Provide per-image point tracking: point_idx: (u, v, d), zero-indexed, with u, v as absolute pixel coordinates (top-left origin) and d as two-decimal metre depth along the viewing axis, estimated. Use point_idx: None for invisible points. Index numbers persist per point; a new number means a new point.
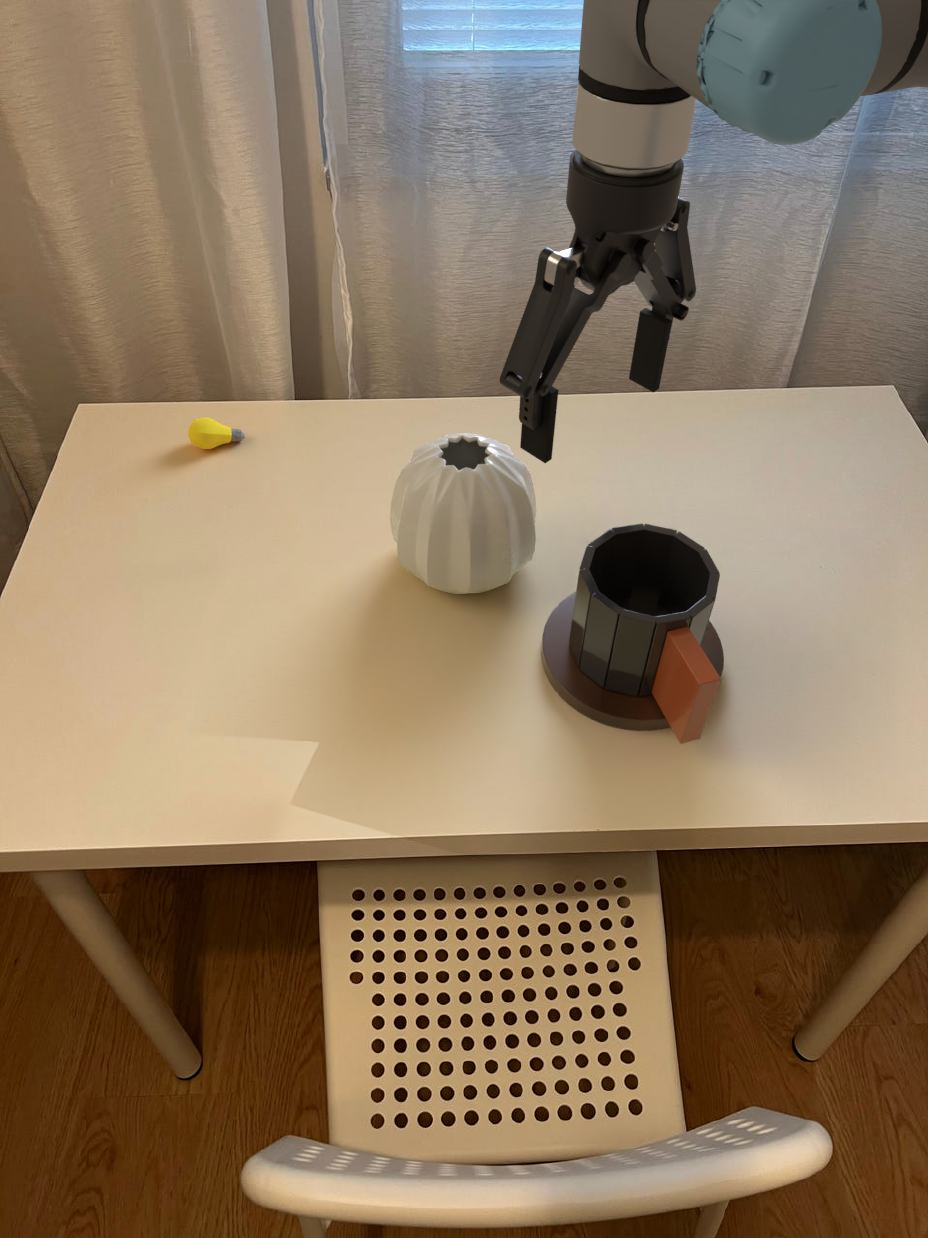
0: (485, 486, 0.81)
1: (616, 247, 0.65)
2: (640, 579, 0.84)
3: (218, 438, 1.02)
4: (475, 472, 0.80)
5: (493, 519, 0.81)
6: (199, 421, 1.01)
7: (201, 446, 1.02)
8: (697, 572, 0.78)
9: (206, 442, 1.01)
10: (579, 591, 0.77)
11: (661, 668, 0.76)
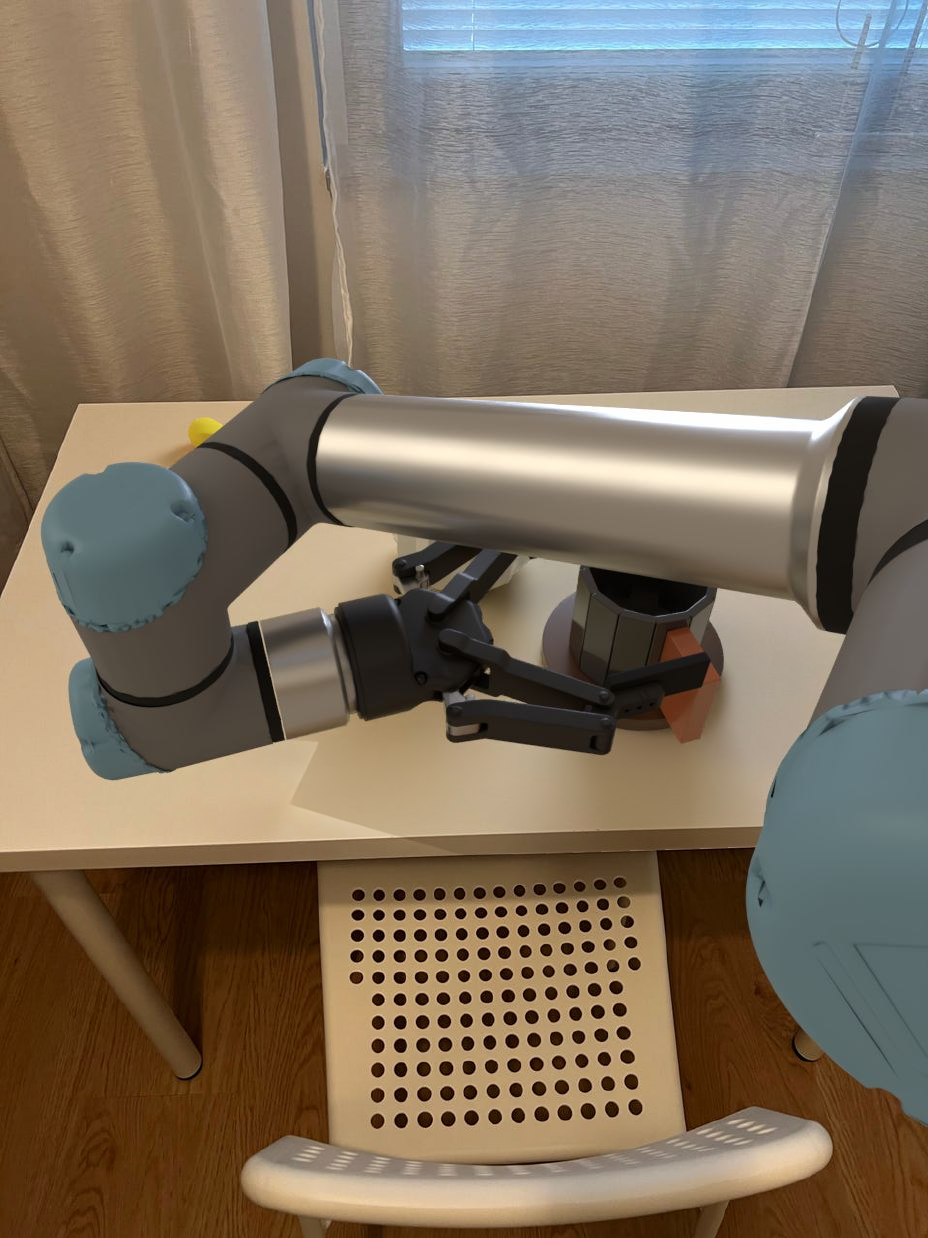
0: None
1: (436, 649, 0.57)
2: (640, 579, 0.84)
3: None
4: None
5: None
6: (199, 421, 1.01)
7: None
8: None
9: None
10: (579, 591, 0.77)
11: None
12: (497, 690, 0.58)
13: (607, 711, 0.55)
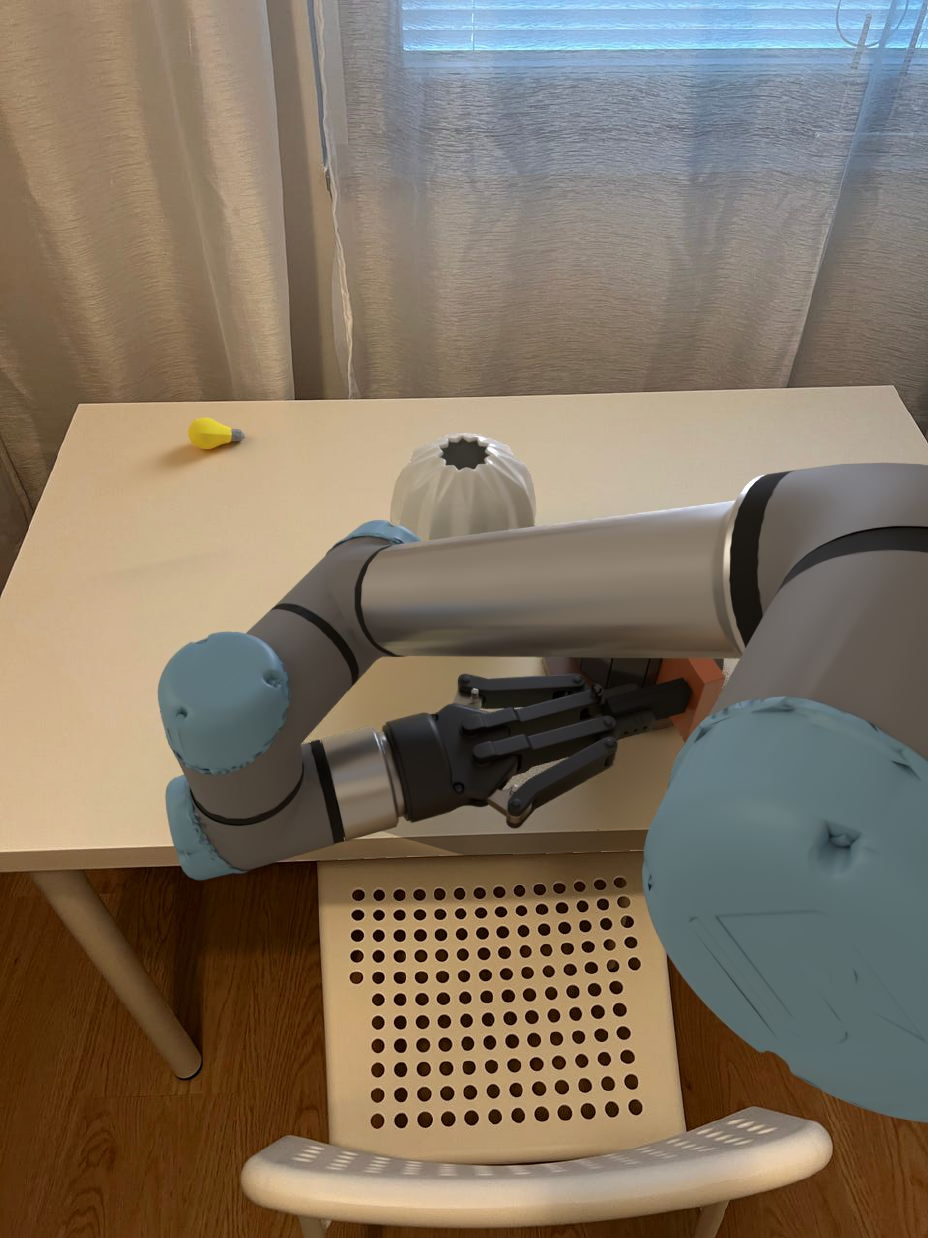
0: (485, 486, 0.81)
1: (476, 766, 0.67)
2: None
3: (218, 438, 1.02)
4: (475, 472, 0.80)
5: (493, 519, 0.81)
6: (199, 421, 1.01)
7: (201, 446, 1.02)
8: None
9: (206, 442, 1.01)
10: None
11: (664, 668, 0.76)
12: (528, 766, 0.70)
13: (615, 730, 0.70)
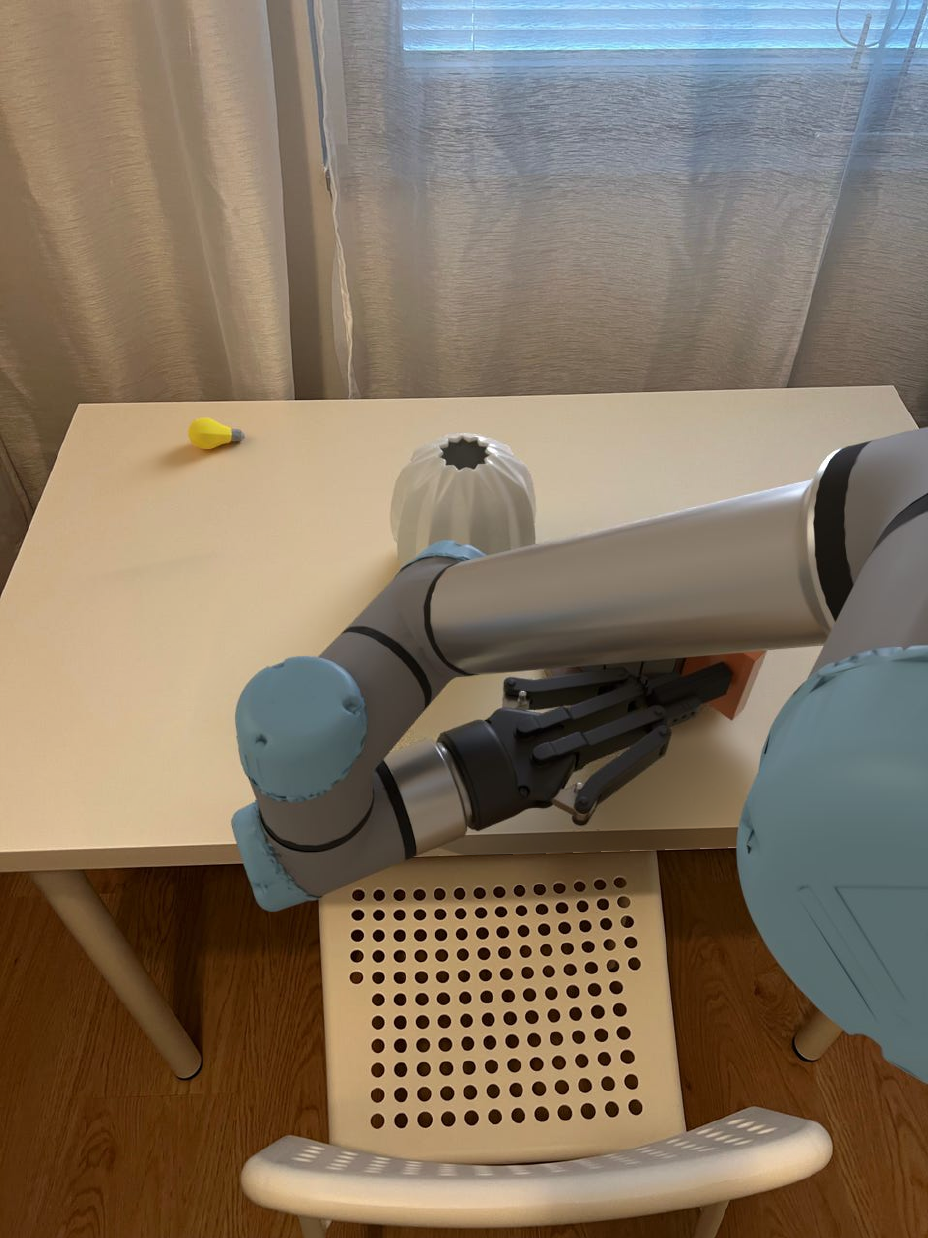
0: (485, 486, 0.80)
1: (537, 767, 0.67)
2: None
3: (218, 438, 1.02)
4: (475, 472, 0.80)
5: (493, 519, 0.81)
6: (199, 421, 1.01)
7: (201, 446, 1.02)
8: None
9: (206, 442, 1.01)
10: None
11: (692, 658, 0.77)
12: (584, 762, 0.70)
13: (666, 719, 0.71)
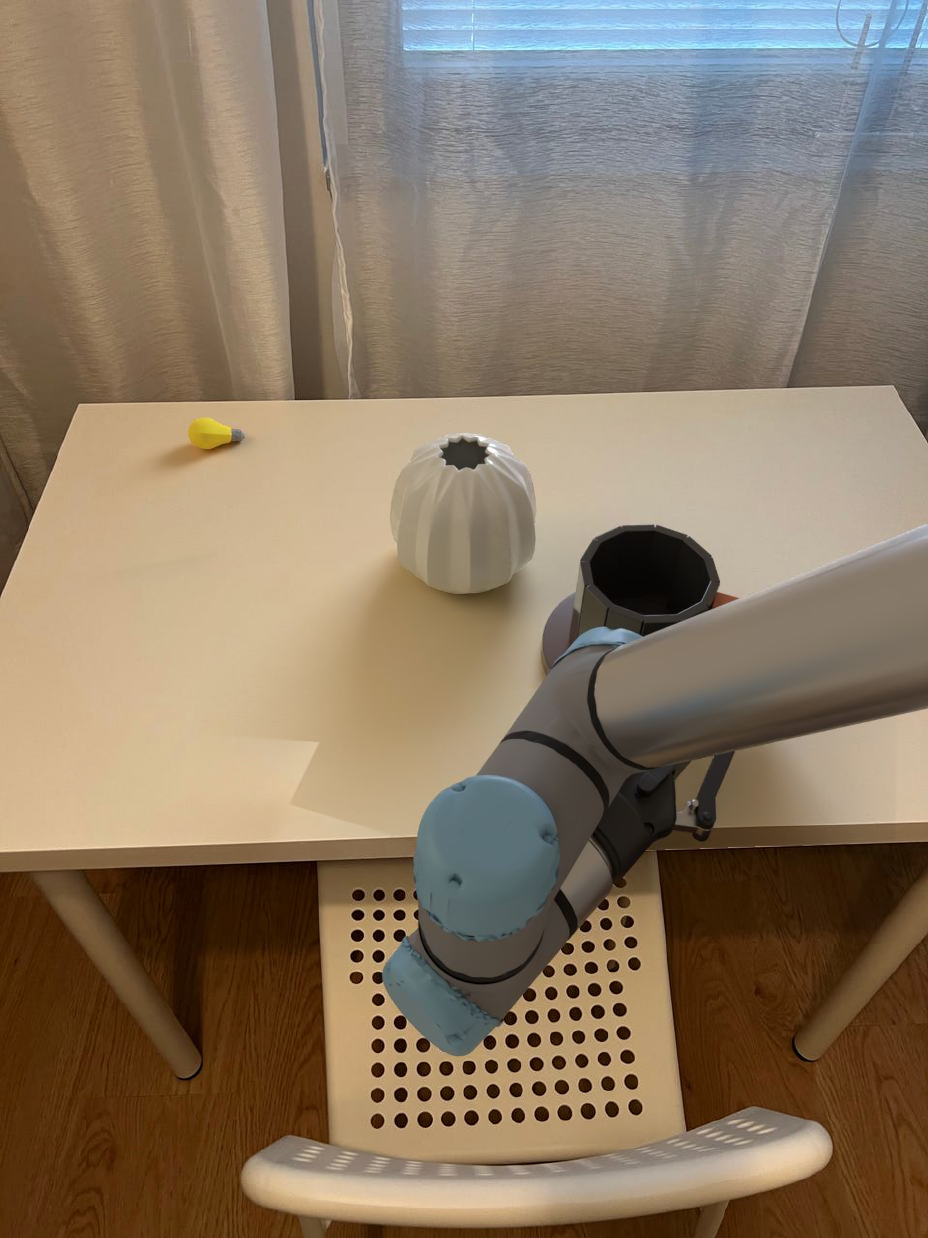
0: (485, 486, 0.81)
1: (647, 800, 0.66)
2: (598, 588, 0.83)
3: (218, 438, 1.02)
4: (475, 472, 0.80)
5: (493, 519, 0.81)
6: (199, 421, 1.01)
7: (201, 446, 1.02)
8: (659, 548, 0.80)
9: (206, 442, 1.01)
10: (612, 629, 0.75)
11: None
12: (675, 778, 0.69)
13: None
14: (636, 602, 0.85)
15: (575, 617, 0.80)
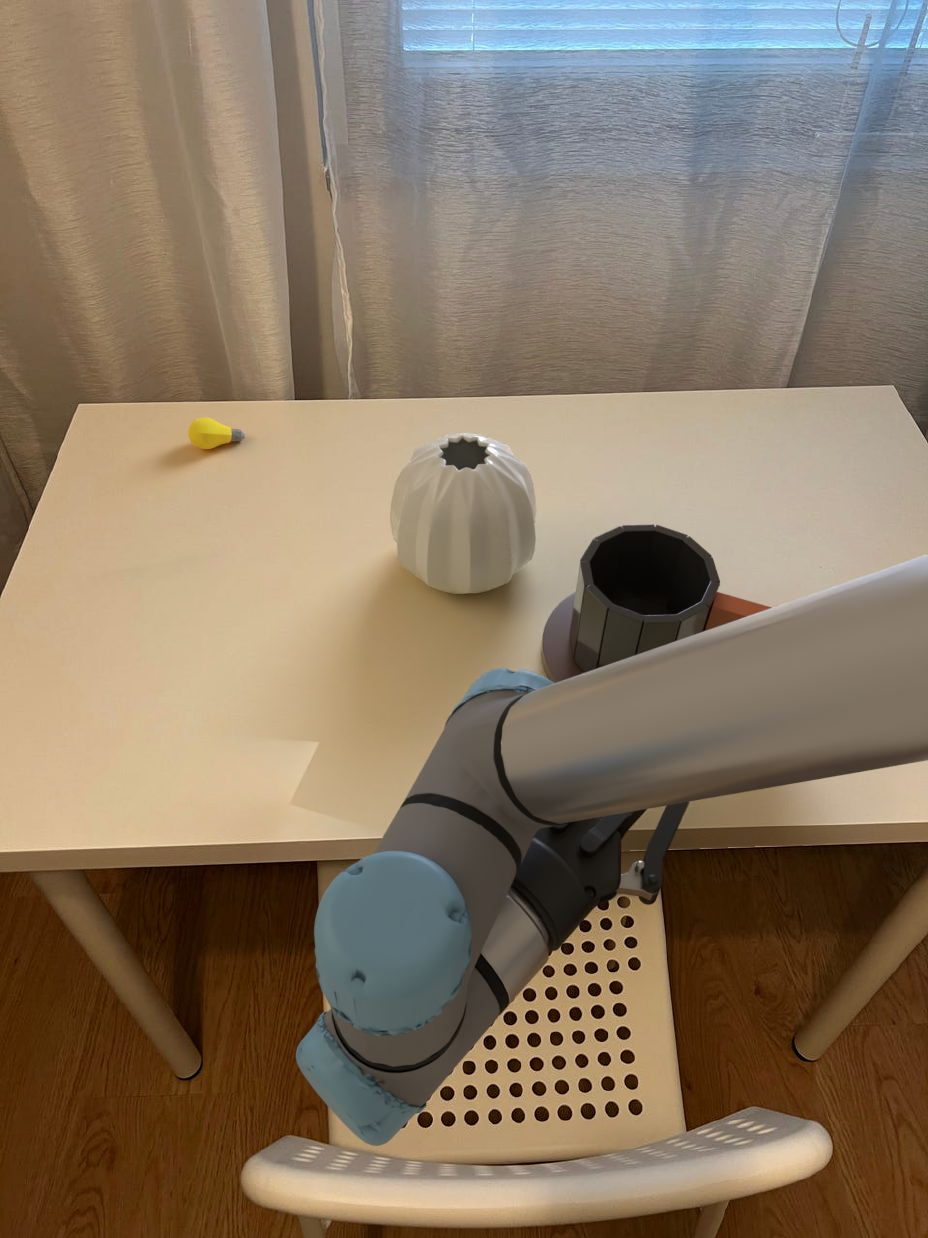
0: (485, 486, 0.81)
1: (590, 861, 0.62)
2: (598, 588, 0.83)
3: (218, 438, 1.02)
4: (475, 472, 0.80)
5: (493, 519, 0.81)
6: (199, 421, 1.01)
7: (201, 446, 1.02)
8: (659, 548, 0.80)
9: (206, 442, 1.01)
10: (612, 629, 0.75)
11: None
12: (623, 834, 0.65)
13: None
14: (636, 602, 0.85)
15: (575, 617, 0.80)
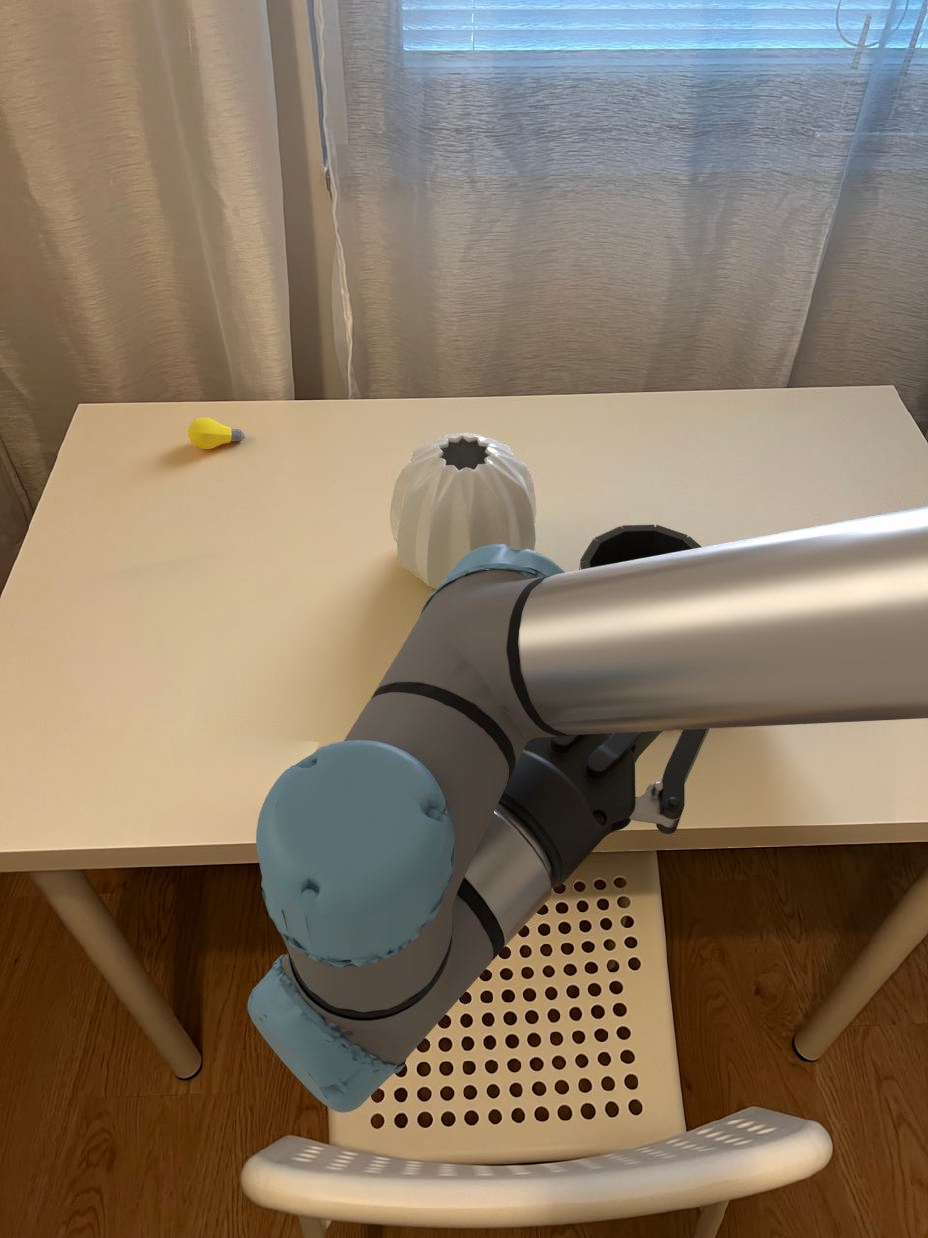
0: (485, 486, 0.80)
1: (599, 782, 0.52)
2: None
3: (218, 438, 1.02)
4: (475, 472, 0.80)
5: (493, 519, 0.81)
6: (199, 421, 1.01)
7: (201, 446, 1.02)
8: (659, 548, 0.80)
9: (206, 442, 1.01)
10: None
11: None
12: (637, 756, 0.56)
13: None
14: None
15: None
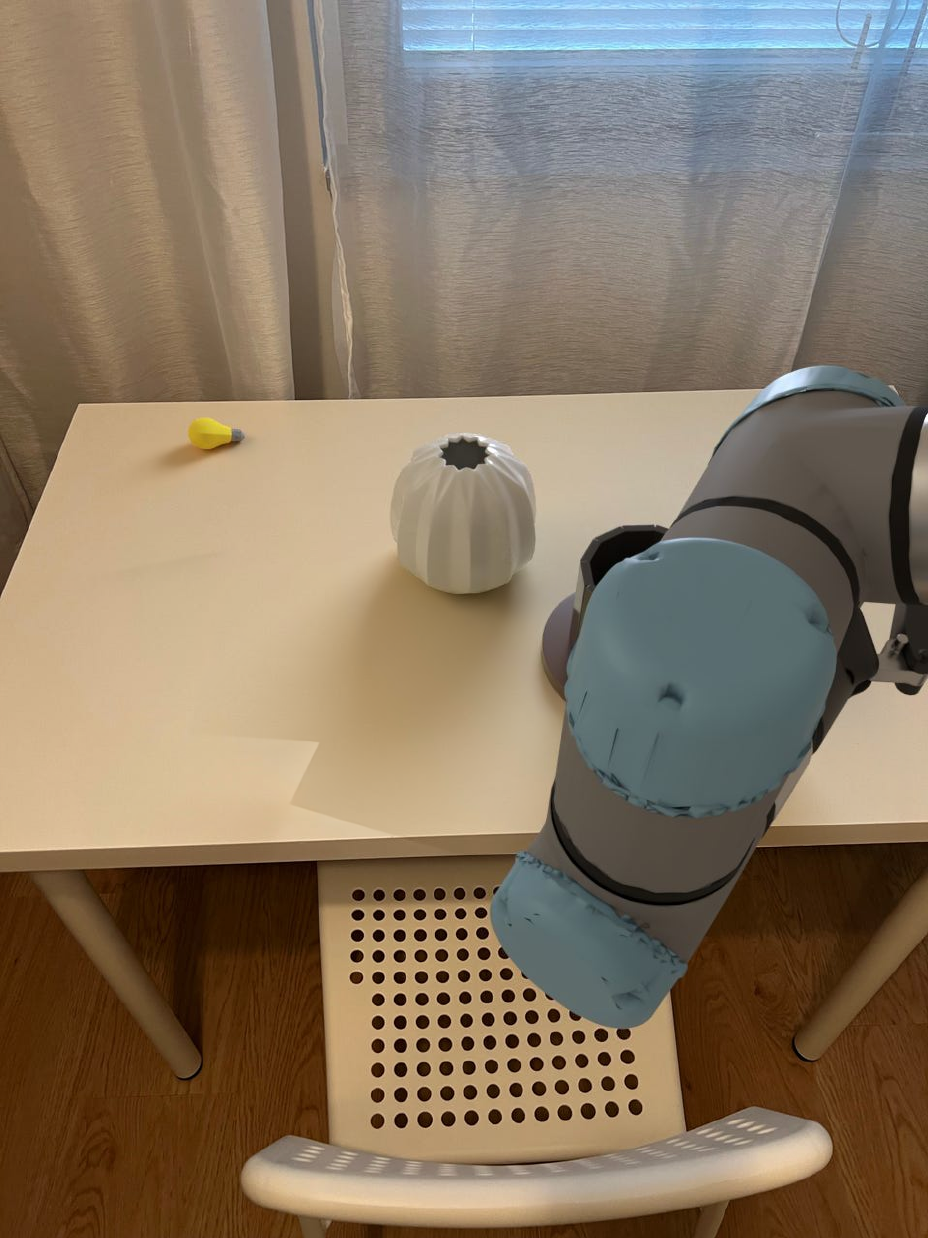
0: (485, 486, 0.81)
1: None
2: None
3: (218, 438, 1.02)
4: (475, 472, 0.80)
5: (493, 519, 0.81)
6: (199, 421, 1.01)
7: (201, 446, 1.02)
8: None
9: (206, 442, 1.01)
10: None
11: None
12: None
13: None
14: None
15: (575, 617, 0.80)
